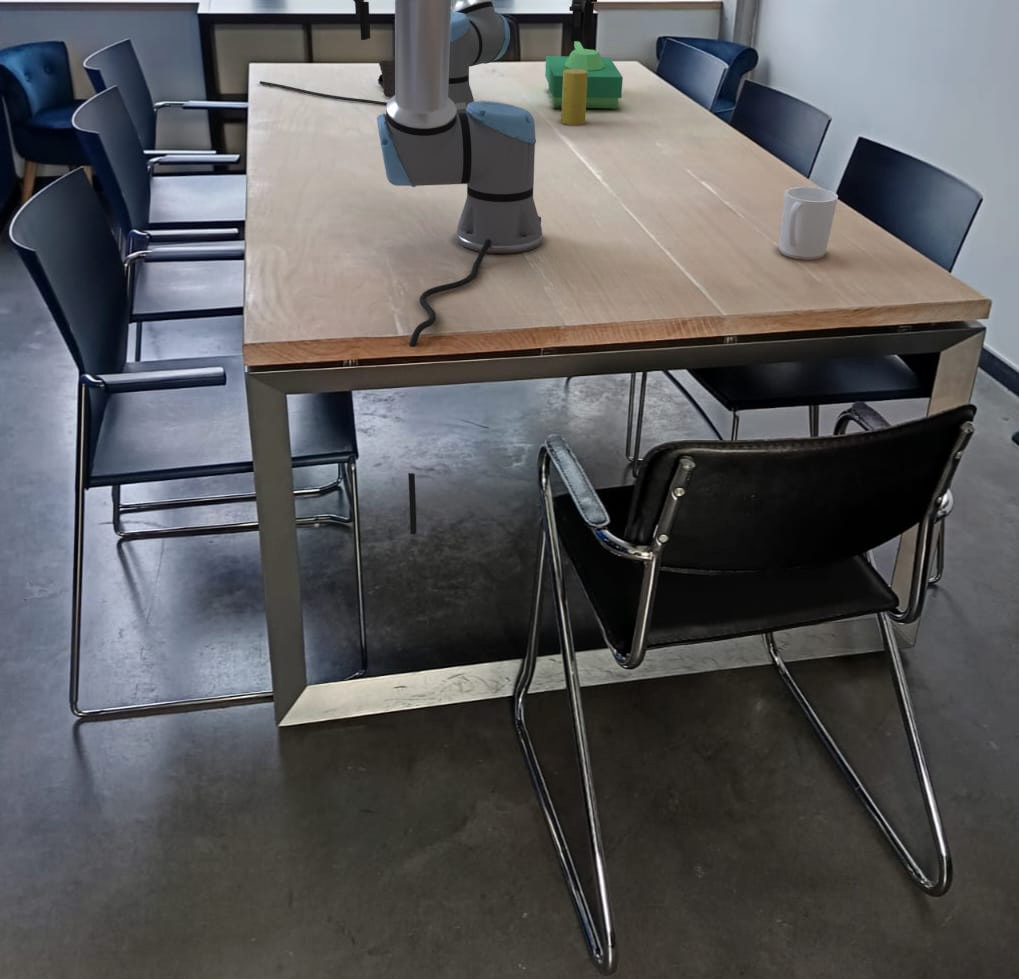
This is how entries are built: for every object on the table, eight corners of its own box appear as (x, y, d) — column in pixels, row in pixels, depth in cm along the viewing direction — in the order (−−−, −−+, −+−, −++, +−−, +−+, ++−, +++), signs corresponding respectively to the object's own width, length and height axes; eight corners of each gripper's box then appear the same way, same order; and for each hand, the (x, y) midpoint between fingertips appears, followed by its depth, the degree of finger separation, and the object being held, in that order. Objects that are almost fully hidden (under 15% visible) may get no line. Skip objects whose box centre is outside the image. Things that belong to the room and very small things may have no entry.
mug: (790, 240, 199) (799, 183, 193) (836, 251, 194) (846, 193, 188) (761, 255, 191) (769, 197, 186) (808, 267, 186) (818, 208, 181)
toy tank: (607, 38, 308) (624, 61, 278) (604, 83, 314) (620, 111, 284) (544, 36, 307) (554, 60, 277) (542, 82, 313) (552, 110, 283)
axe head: (443, 87, 294) (392, 77, 287) (436, 115, 299) (385, 106, 292) (421, 62, 307) (371, 52, 300) (414, 89, 311) (365, 80, 304)
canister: (582, 119, 276) (585, 68, 270) (587, 125, 271) (589, 73, 265) (559, 119, 276) (561, 68, 269) (563, 125, 271) (565, 73, 264)
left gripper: (595, -57, 238) (588, 46, 250) (612, -67, 259) (604, 29, 270) (561, -59, 240) (556, 44, 251) (580, -69, 260) (575, 26, 272)
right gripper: (465, -83, 199) (466, 42, 209) (340, -87, 205) (347, 34, 216) (451, -80, 192) (452, 48, 203) (322, -85, 199) (330, 39, 210)
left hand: (581, 36), depth 261 cm, fingers open, 13 cm apart
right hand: (398, 41), depth 209 cm, fingers open, 13 cm apart
